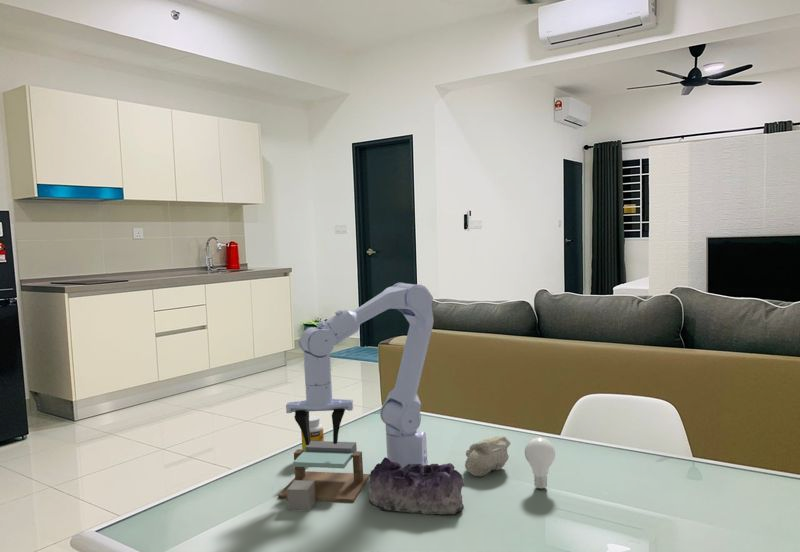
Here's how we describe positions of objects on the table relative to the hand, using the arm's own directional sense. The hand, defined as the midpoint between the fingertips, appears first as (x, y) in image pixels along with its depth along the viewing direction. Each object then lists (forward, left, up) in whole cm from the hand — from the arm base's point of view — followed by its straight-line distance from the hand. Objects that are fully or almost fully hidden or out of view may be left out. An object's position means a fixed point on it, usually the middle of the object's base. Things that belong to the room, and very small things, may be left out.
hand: (321, 442), depth 130 cm
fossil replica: (-35, -13, -11) cm, 39 cm away
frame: (0, -1, -10) cm, 10 cm away
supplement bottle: (+9, -17, -11) cm, 22 cm away
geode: (-22, +5, -11) cm, 25 cm away
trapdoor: (0, -2, -5) cm, 5 cm away
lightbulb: (-47, -5, -11) cm, 48 cm away
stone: (+2, +8, -10) cm, 14 cm away
